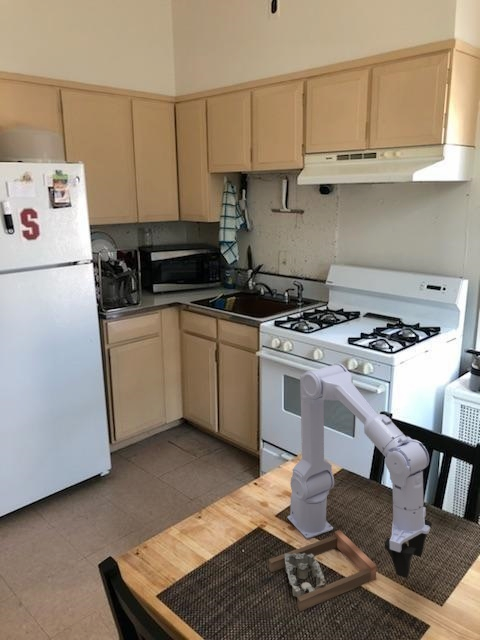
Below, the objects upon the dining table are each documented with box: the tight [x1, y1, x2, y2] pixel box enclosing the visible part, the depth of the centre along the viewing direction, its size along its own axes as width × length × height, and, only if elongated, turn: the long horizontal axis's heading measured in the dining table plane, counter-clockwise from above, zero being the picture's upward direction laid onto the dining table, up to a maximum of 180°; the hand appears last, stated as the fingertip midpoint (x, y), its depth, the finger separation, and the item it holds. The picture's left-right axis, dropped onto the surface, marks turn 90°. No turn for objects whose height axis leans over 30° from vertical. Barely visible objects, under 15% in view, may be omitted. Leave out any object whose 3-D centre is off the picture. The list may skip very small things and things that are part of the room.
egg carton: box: [284, 552, 326, 598], centre depth 113 cm, size 11×8×4 cm
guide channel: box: [267, 529, 378, 612], centre depth 115 cm, size 13×20×4 cm
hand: (409, 564), depth 104 cm, fingers open, 7 cm apart
